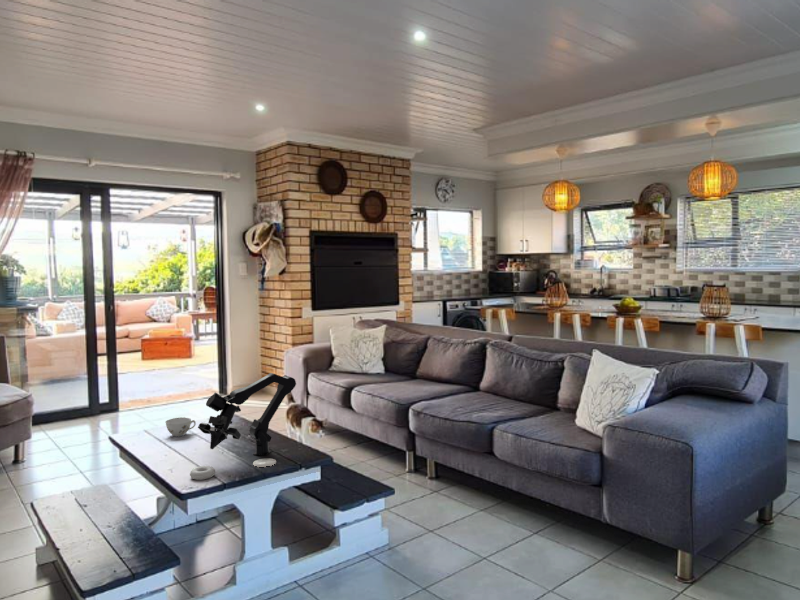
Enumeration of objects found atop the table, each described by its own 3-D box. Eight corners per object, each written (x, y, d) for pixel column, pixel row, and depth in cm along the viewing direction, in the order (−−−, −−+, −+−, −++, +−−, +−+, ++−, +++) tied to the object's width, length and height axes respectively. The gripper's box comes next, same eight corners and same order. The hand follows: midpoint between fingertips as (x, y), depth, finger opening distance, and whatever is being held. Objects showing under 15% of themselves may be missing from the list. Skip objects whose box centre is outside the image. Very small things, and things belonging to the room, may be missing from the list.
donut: (189, 475, 244) (190, 482, 235) (189, 466, 244) (190, 474, 235) (214, 471, 248) (216, 478, 239) (214, 463, 248) (216, 470, 239)
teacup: (168, 440, 297) (168, 424, 296) (163, 434, 307) (163, 419, 307) (198, 435, 305) (198, 420, 305) (193, 429, 315) (192, 415, 315)
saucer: (258, 459, 263) (258, 457, 263) (279, 460, 261) (279, 458, 261) (249, 467, 253) (249, 465, 253) (270, 468, 251) (270, 466, 251)
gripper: (200, 405, 257) (184, 437, 248) (237, 411, 252) (222, 444, 243) (211, 416, 265) (196, 448, 257) (247, 422, 260) (232, 455, 251)
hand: (211, 448), depth 252 cm, fingers closed
